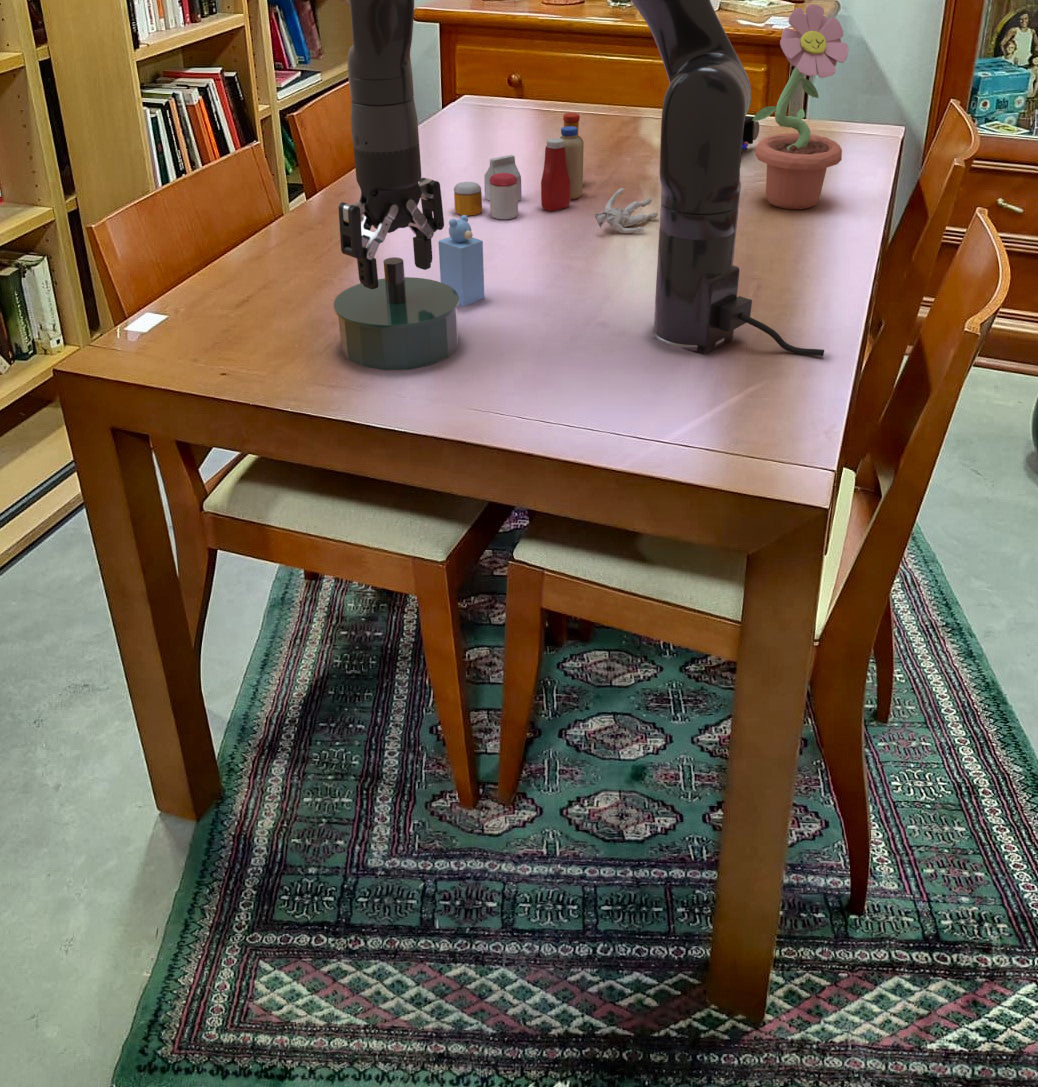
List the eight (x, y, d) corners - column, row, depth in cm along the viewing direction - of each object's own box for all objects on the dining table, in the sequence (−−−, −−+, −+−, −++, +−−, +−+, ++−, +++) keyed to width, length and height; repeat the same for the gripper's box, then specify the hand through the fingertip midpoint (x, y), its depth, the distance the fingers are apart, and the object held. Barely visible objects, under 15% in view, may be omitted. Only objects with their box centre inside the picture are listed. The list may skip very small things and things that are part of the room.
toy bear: (484, 301, 155) (482, 217, 148) (463, 310, 152) (460, 224, 146) (462, 293, 157) (458, 210, 151) (441, 301, 155) (436, 217, 148)
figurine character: (724, 152, 219) (695, 162, 208) (729, 110, 216) (700, 118, 204) (757, 156, 216) (729, 167, 205) (763, 114, 213) (735, 123, 201)
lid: (485, 306, 139) (483, 258, 136) (390, 345, 130) (386, 295, 127) (402, 276, 148) (399, 230, 145) (308, 310, 139) (302, 262, 136)
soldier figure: (667, 230, 181) (628, 225, 172) (644, 246, 184) (605, 243, 174) (646, 188, 182) (607, 181, 172) (624, 205, 185) (584, 200, 175)
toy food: (571, 179, 201) (572, 109, 194) (615, 197, 192) (618, 124, 185) (442, 207, 189) (439, 133, 182) (484, 228, 180) (481, 151, 173)
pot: (481, 347, 142) (479, 302, 139) (395, 385, 134) (391, 338, 130) (405, 317, 151) (402, 274, 147) (320, 351, 142) (314, 306, 139)
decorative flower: (767, 220, 181) (790, 17, 164) (730, 195, 192) (747, 2, 175) (850, 211, 184) (880, 11, 167) (809, 187, 195) (834, -4, 178)
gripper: (359, 159, 122) (373, 302, 131) (453, 132, 130) (460, 268, 139) (315, 148, 126) (332, 286, 135) (409, 122, 134) (419, 255, 143)
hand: (397, 277), depth 137 cm, fingers open, 8 cm apart
